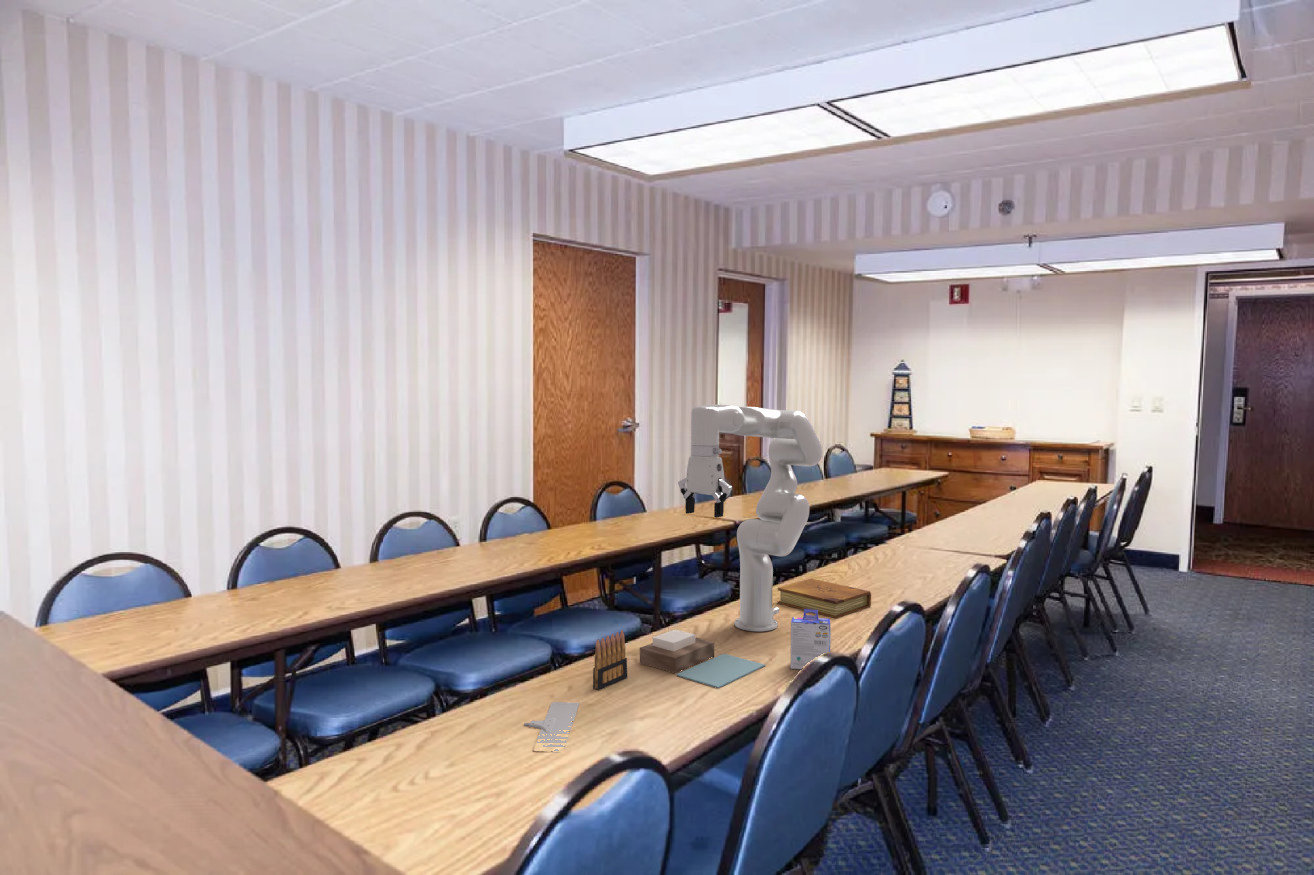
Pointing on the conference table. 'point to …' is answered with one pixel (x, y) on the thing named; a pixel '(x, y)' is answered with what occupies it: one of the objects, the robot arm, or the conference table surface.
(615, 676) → the ammunition clip
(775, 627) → the robot arm
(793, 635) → the ink cartridge box
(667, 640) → the white rectangular block
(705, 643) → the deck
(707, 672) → the mat
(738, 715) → the conference table surface
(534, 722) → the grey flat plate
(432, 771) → the conference table surface
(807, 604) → the diary
